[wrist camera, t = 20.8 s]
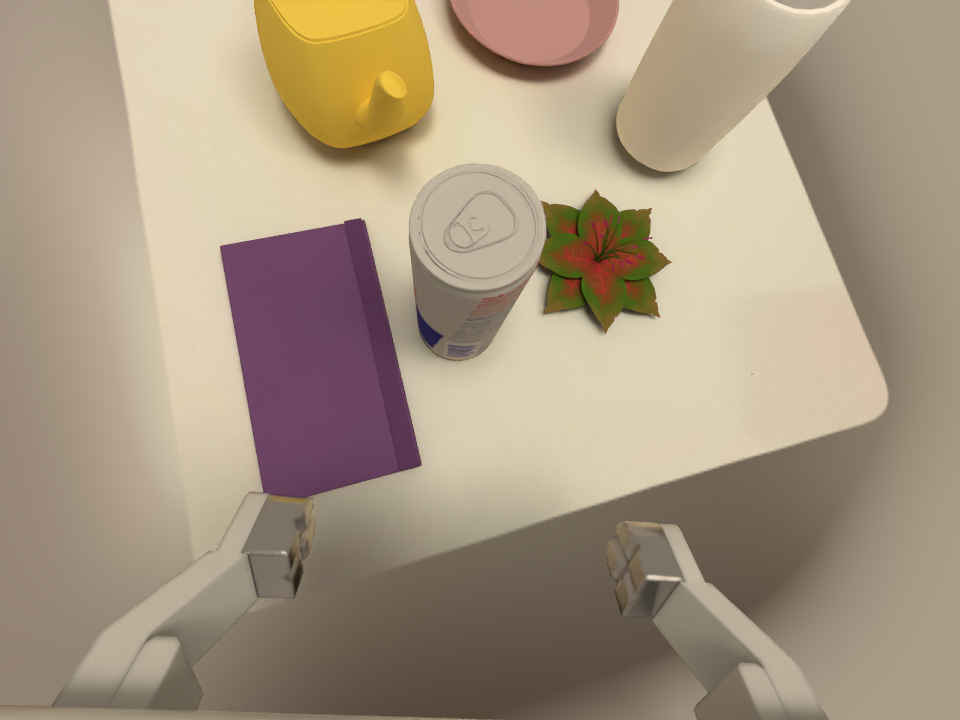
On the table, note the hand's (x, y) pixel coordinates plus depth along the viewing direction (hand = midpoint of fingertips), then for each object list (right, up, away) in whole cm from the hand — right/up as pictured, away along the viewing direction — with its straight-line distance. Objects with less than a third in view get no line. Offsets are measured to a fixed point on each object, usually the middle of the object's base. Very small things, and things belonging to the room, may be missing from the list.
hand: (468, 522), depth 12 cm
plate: (+5, +34, +26) cm, 43 cm away
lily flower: (+9, +12, +22) cm, 27 cm away
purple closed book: (-11, +5, +19) cm, 22 cm away
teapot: (-9, +24, +23) cm, 34 cm away
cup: (+15, +23, +25) cm, 37 cm away
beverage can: (-1, +7, +20) cm, 21 cm away
